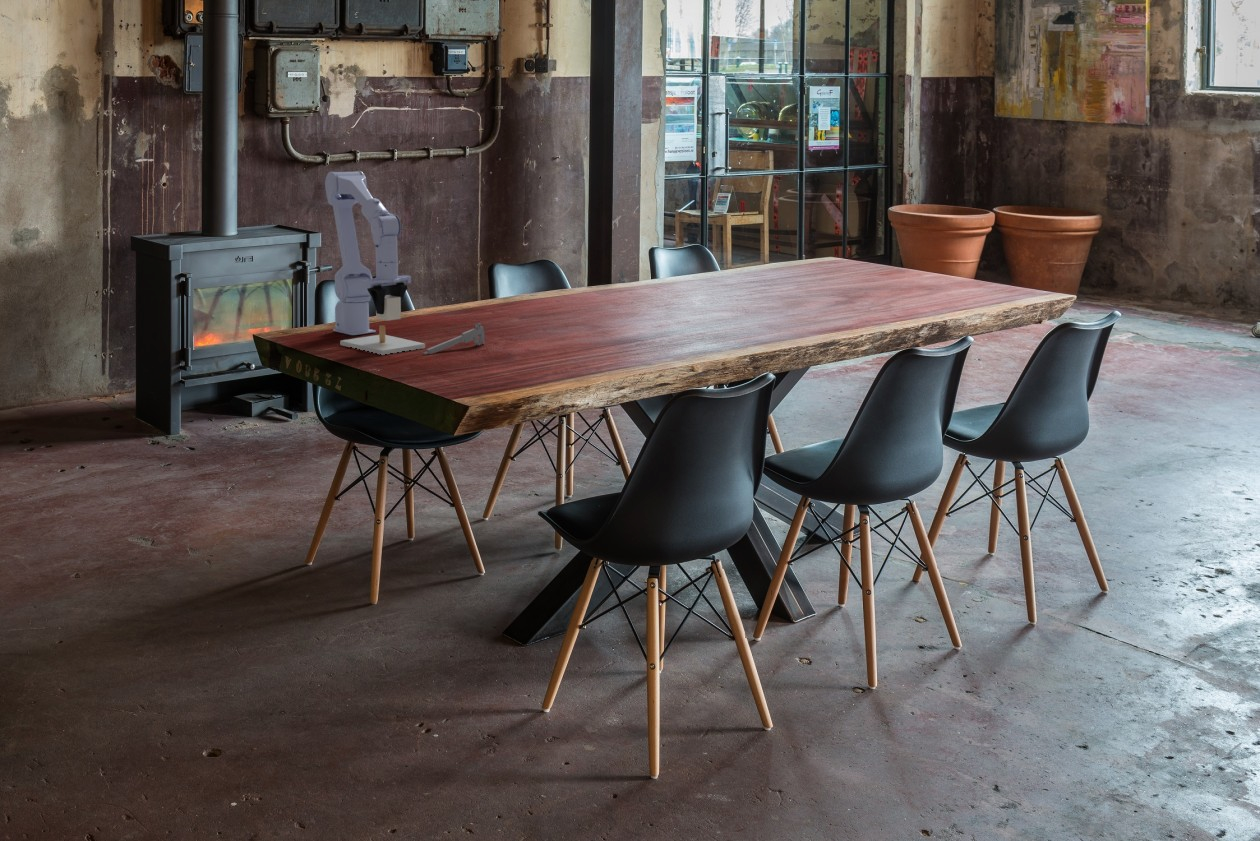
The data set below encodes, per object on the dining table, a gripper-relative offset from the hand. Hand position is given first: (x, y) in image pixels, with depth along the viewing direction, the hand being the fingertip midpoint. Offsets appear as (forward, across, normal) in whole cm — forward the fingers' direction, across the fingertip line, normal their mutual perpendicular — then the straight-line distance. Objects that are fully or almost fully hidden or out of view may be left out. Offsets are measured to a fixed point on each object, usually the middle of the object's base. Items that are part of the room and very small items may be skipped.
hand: (388, 312), depth 371 cm
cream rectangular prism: (+2, 0, 0) cm, 2 cm away
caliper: (+9, +8, -17) cm, 21 cm away
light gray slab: (+8, -3, -2) cm, 9 cm away
